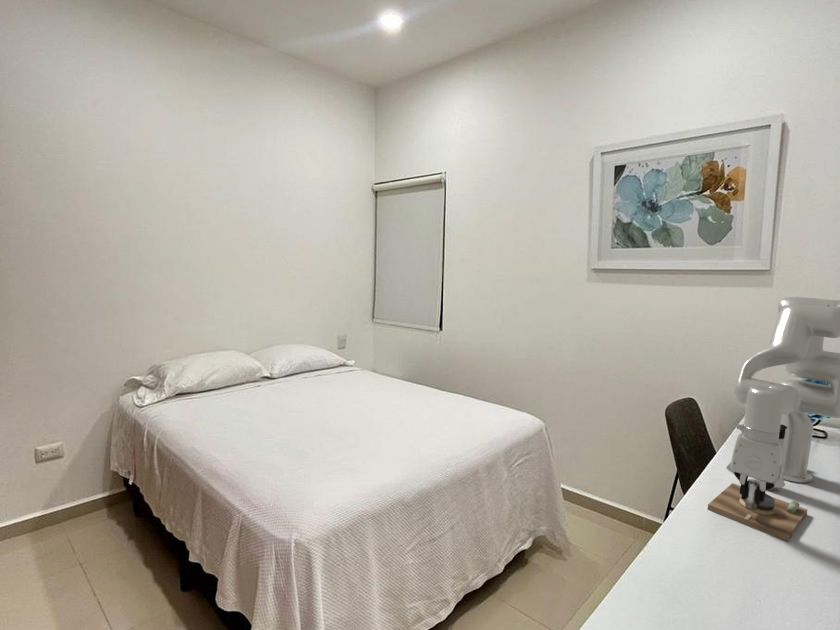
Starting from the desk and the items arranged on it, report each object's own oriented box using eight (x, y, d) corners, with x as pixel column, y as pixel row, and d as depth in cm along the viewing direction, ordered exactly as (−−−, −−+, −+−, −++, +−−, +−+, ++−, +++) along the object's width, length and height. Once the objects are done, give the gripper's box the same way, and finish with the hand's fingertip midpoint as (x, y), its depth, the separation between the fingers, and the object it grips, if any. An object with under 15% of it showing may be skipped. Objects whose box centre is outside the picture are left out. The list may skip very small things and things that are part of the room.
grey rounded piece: (732, 508, 123) (736, 477, 122) (747, 493, 131) (751, 464, 130) (764, 520, 118) (768, 488, 117) (776, 504, 126) (781, 474, 125)
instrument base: (731, 487, 140) (733, 477, 140) (806, 514, 126) (808, 503, 126) (707, 509, 128) (708, 498, 127) (787, 541, 114) (789, 529, 113)
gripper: (720, 428, 122) (712, 492, 124) (796, 448, 110) (786, 519, 112) (728, 421, 127) (721, 483, 129) (803, 440, 115) (792, 508, 117)
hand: (751, 499), depth 121 cm, fingers closed on grey rounded piece, 2 cm apart
